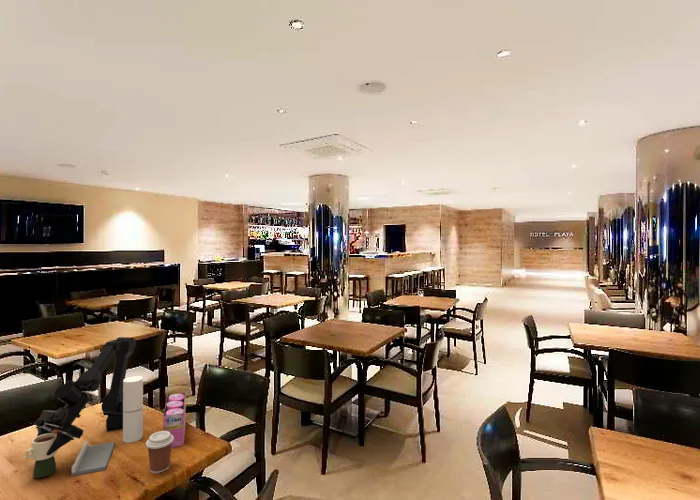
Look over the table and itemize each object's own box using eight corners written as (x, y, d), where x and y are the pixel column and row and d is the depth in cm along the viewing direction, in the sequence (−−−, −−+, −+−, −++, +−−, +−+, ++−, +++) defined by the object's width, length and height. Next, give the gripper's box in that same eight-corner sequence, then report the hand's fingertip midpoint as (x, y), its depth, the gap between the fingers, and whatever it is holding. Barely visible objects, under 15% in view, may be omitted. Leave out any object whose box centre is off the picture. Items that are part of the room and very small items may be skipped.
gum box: (167, 422, 169) (167, 393, 169) (186, 419, 172) (186, 390, 172) (162, 449, 147) (162, 415, 147) (184, 445, 150) (184, 412, 150)
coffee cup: (139, 472, 132) (139, 439, 132) (160, 458, 141) (160, 427, 140) (158, 478, 129) (159, 444, 129) (179, 463, 137) (179, 431, 137)
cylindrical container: (124, 444, 150) (125, 383, 149) (121, 437, 155) (121, 378, 155) (144, 438, 154) (144, 379, 154) (140, 432, 160) (140, 374, 159)
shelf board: (114, 444, 150) (114, 436, 150) (105, 469, 133) (105, 461, 133) (84, 449, 146) (84, 441, 146) (70, 476, 129) (70, 467, 129)
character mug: (57, 463, 137) (58, 428, 136) (67, 469, 133) (67, 433, 133) (20, 479, 127) (20, 442, 127) (30, 486, 124) (30, 447, 123)
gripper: (39, 395, 137) (3, 440, 126) (75, 403, 131) (40, 450, 120) (61, 408, 144) (29, 450, 134) (96, 415, 138) (65, 461, 128)
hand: (40, 453), depth 129 cm, fingers closed on character mug, 7 cm apart
